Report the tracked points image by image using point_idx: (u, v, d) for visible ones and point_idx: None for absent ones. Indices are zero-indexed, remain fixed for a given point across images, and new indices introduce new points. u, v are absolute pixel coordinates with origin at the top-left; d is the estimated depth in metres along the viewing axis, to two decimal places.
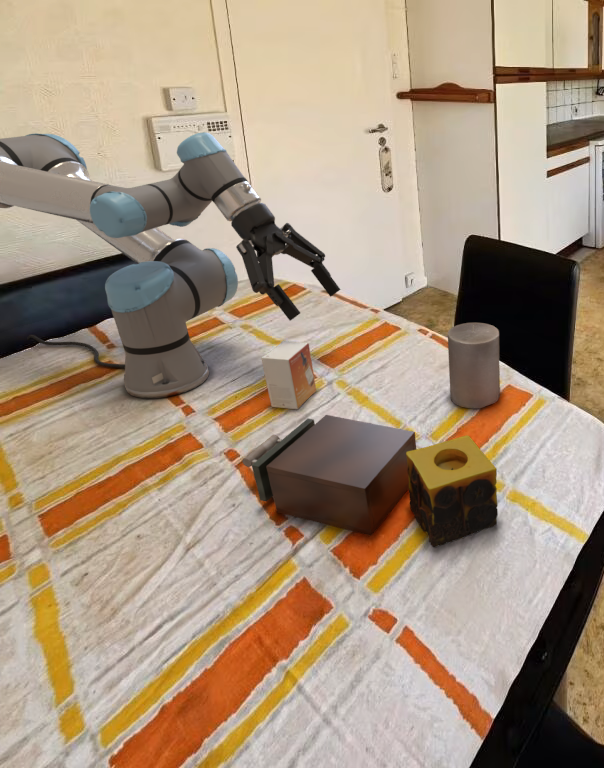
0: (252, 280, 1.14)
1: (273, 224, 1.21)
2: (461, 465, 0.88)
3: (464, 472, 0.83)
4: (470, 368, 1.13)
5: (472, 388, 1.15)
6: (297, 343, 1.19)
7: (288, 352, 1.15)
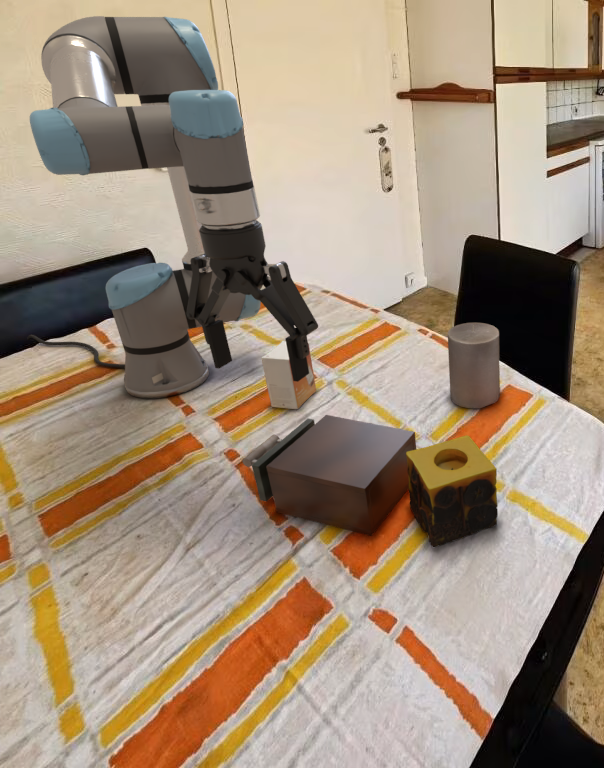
0: None
1: (250, 258, 0.80)
2: (461, 465, 0.88)
3: (464, 472, 0.83)
4: (470, 368, 1.13)
5: (472, 388, 1.15)
6: None
7: None
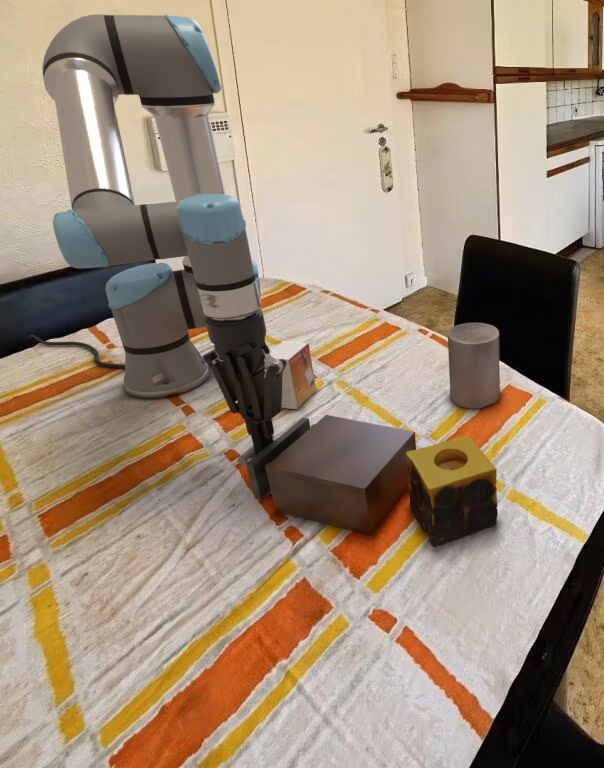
0: None
1: (252, 344, 0.87)
2: (461, 465, 0.88)
3: (464, 472, 0.83)
4: (470, 368, 1.13)
5: (472, 388, 1.15)
6: (297, 343, 1.19)
7: (288, 352, 1.15)
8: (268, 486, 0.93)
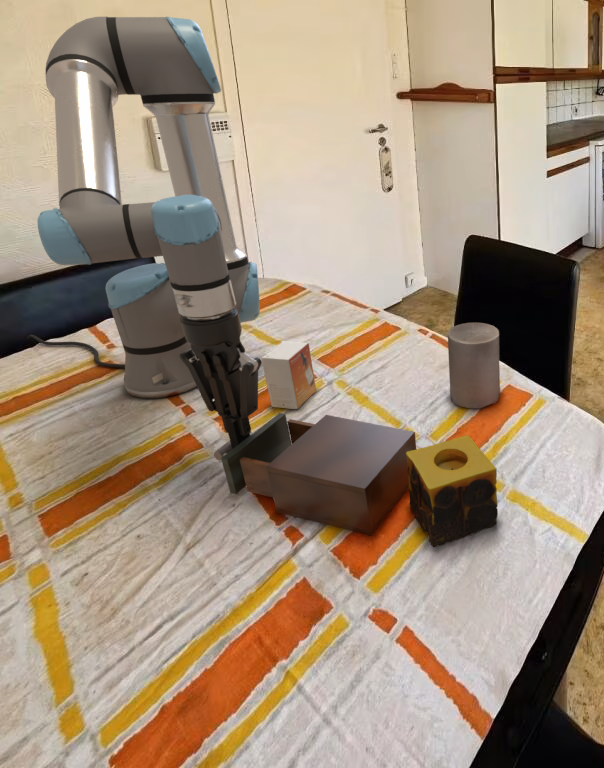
0: None
1: (227, 343, 0.88)
2: (461, 465, 0.88)
3: (464, 472, 0.83)
4: (470, 368, 1.13)
5: (472, 388, 1.15)
6: (297, 343, 1.19)
7: (288, 352, 1.15)
8: (243, 480, 0.95)
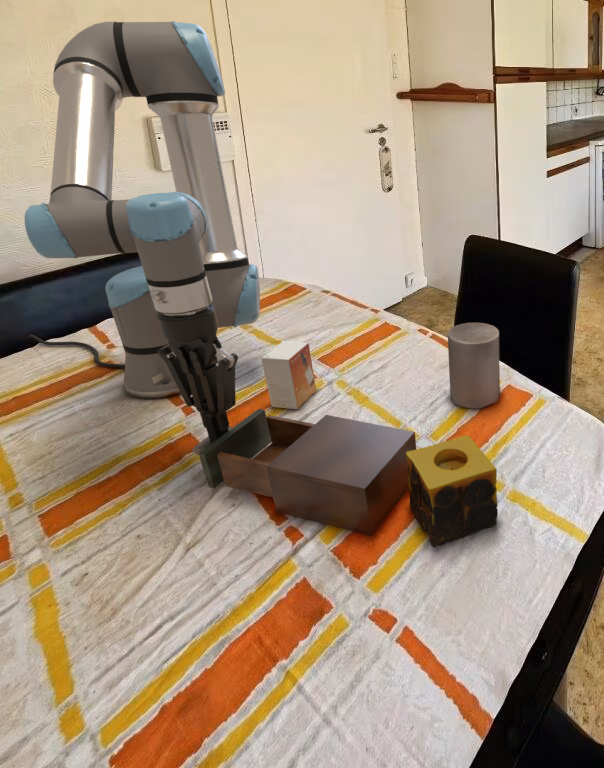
0: None
1: (203, 339, 0.89)
2: (461, 465, 0.88)
3: (464, 472, 0.83)
4: (470, 368, 1.13)
5: (472, 388, 1.15)
6: (297, 343, 1.19)
7: (288, 352, 1.15)
8: (222, 475, 0.96)
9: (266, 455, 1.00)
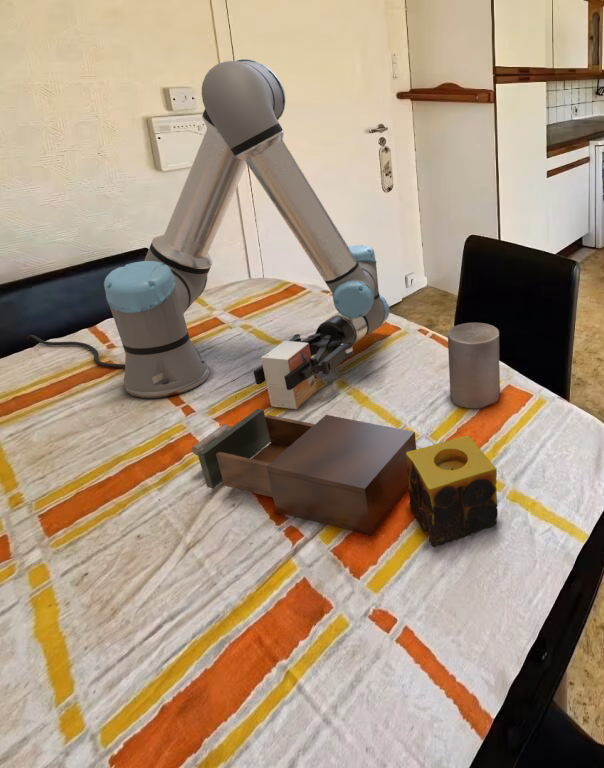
0: (331, 362, 1.19)
1: None
2: (461, 465, 0.88)
3: (464, 472, 0.83)
4: (470, 368, 1.13)
5: (472, 388, 1.15)
6: (297, 343, 1.19)
7: (288, 352, 1.15)
8: (220, 475, 0.96)
9: (265, 455, 1.00)
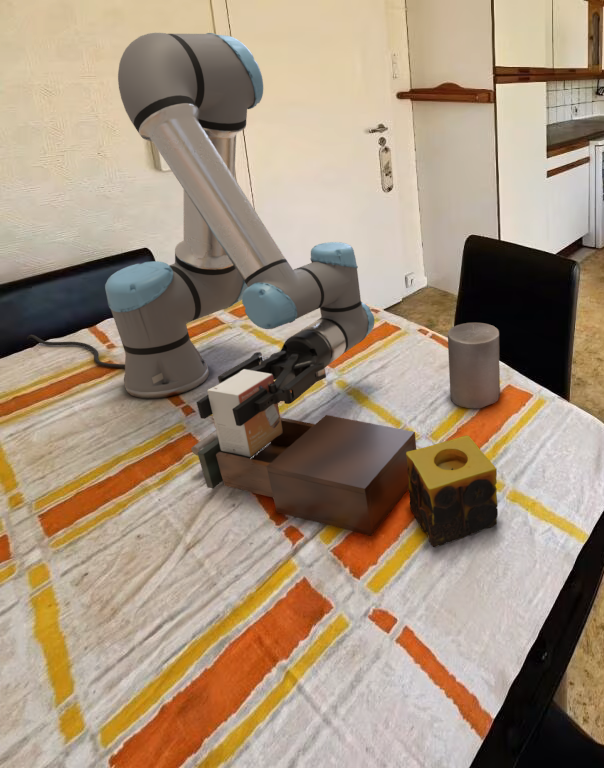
0: (295, 388, 0.95)
1: None
2: (461, 465, 0.88)
3: (464, 472, 0.83)
4: (470, 368, 1.13)
5: (472, 388, 1.15)
6: (259, 373, 0.95)
7: (242, 385, 0.91)
8: (220, 475, 0.96)
9: (265, 455, 1.00)
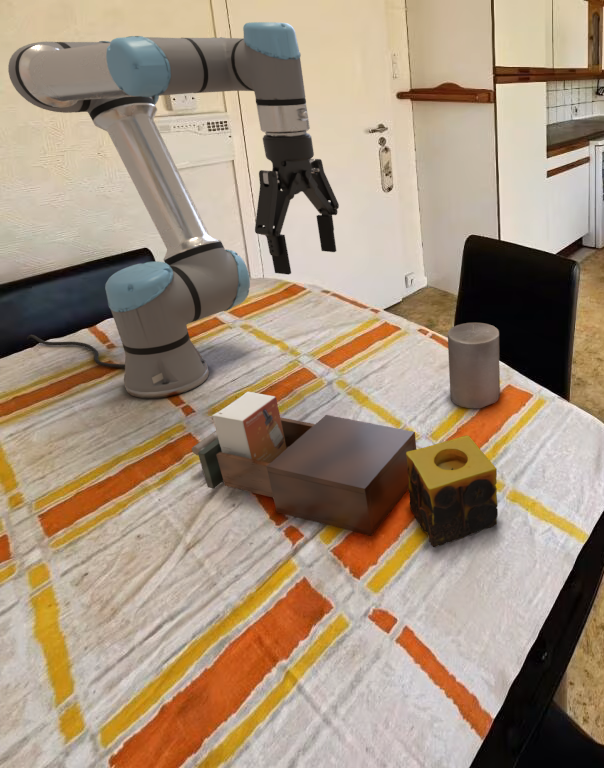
0: (260, 220, 0.98)
1: None
2: (461, 465, 0.88)
3: (464, 472, 0.83)
4: (470, 368, 1.13)
5: (472, 388, 1.15)
6: (262, 396, 0.96)
7: (246, 409, 0.93)
8: (221, 475, 0.96)
9: None
